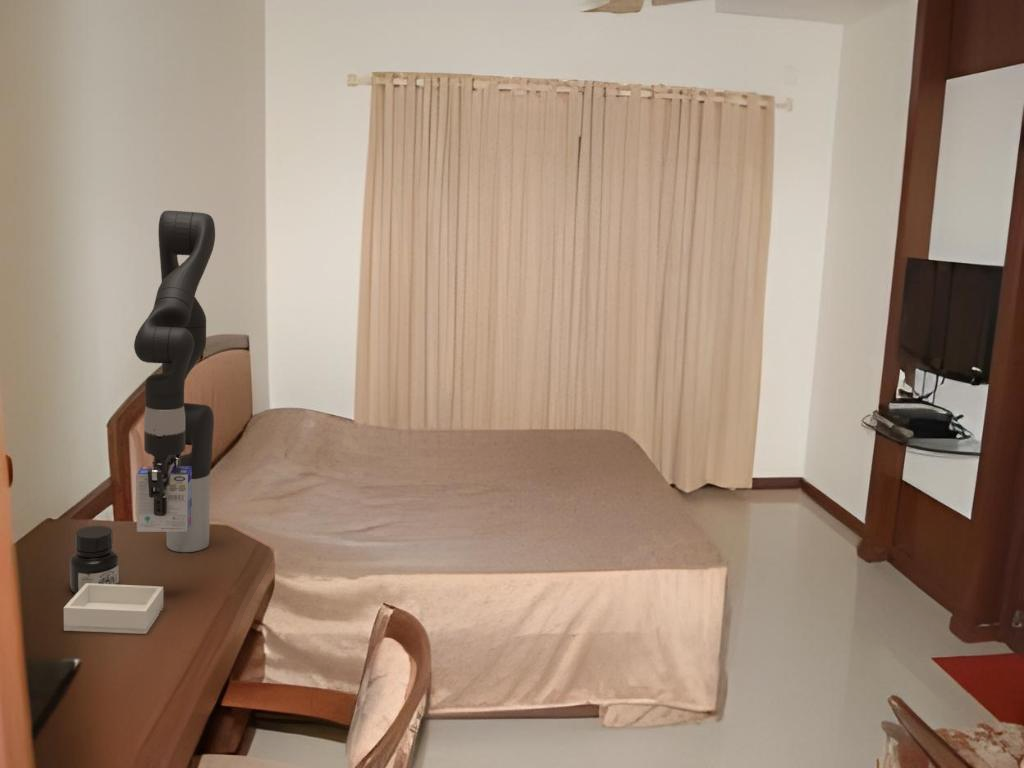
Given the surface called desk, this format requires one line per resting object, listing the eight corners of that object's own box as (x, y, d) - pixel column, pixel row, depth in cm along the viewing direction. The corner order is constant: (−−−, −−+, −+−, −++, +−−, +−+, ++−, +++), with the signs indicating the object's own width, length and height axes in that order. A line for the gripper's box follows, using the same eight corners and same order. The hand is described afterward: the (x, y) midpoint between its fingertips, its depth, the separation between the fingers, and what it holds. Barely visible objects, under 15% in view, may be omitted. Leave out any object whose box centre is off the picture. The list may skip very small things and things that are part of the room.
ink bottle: (82, 602, 179) (81, 544, 177) (59, 587, 184) (58, 531, 182) (129, 587, 187) (128, 532, 184) (106, 574, 192) (105, 520, 189)
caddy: (86, 604, 178) (85, 583, 177) (163, 608, 179) (163, 586, 178) (63, 630, 168) (63, 607, 167) (145, 633, 169) (145, 611, 168)
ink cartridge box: (192, 522, 187) (193, 454, 184) (189, 532, 182) (189, 463, 178) (141, 522, 185) (140, 453, 181) (136, 533, 179) (135, 462, 176)
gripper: (156, 417, 185) (156, 496, 189) (132, 437, 171) (133, 522, 175) (194, 419, 186) (194, 498, 190) (174, 439, 172) (173, 524, 176)
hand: (165, 509), depth 182 cm, fingers closed on ink cartridge box, 5 cm apart
